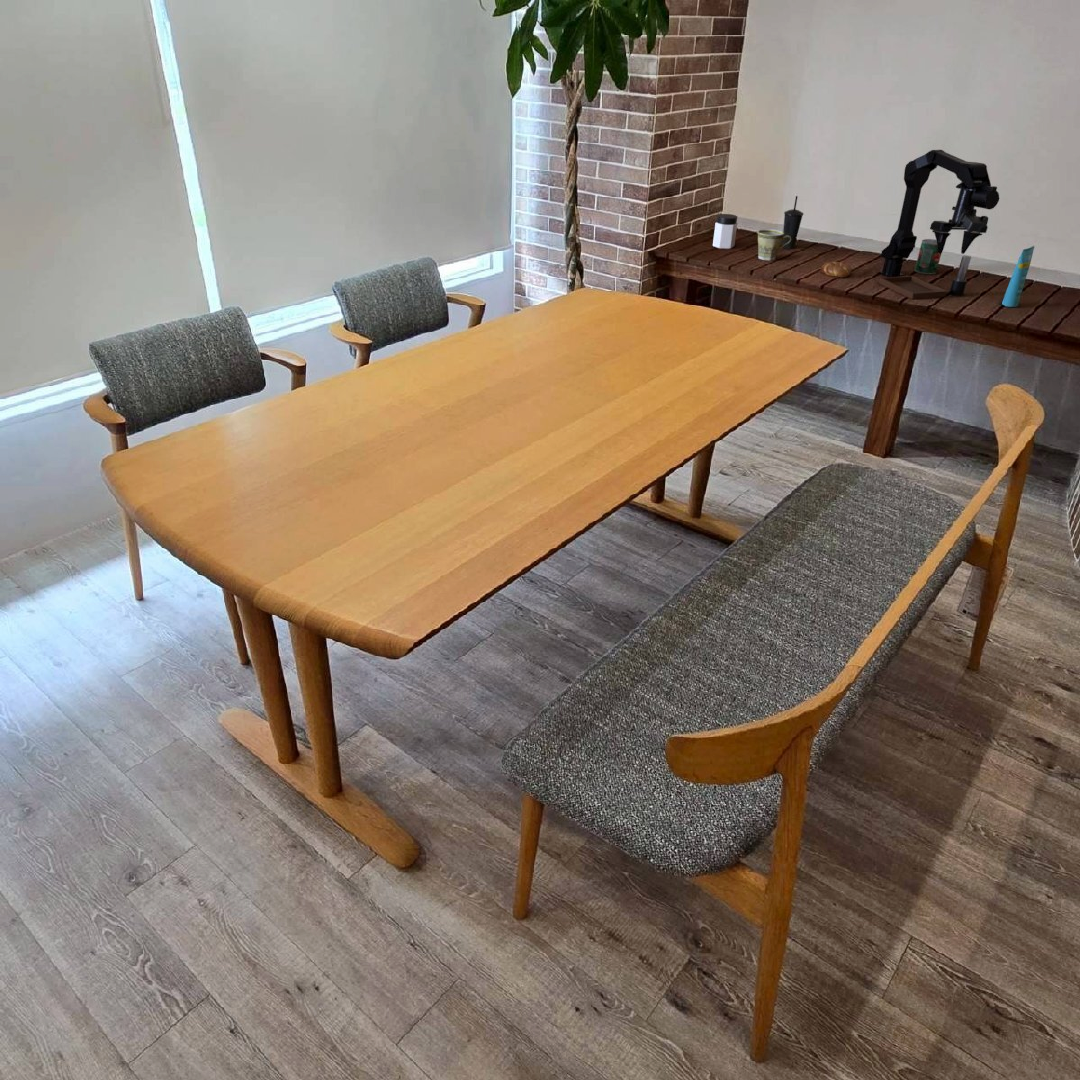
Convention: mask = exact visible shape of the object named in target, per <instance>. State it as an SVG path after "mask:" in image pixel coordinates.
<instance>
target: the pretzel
mask: <svg viewBox="0 0 1080 1080" xmlns="http://www.w3.org/2000/svg"><path fill="white" fill-rule="evenodd" d="M820 271H821V273H822V274H825V275H827V276H830V277H837V278H842V279H843V278H846V277H848V276H851V274H852V267H851V266H850V265H848V264H847V263H844V262H840V261H826V262H825V263H823V264H822V265H821V267H820Z"/></svg>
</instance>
